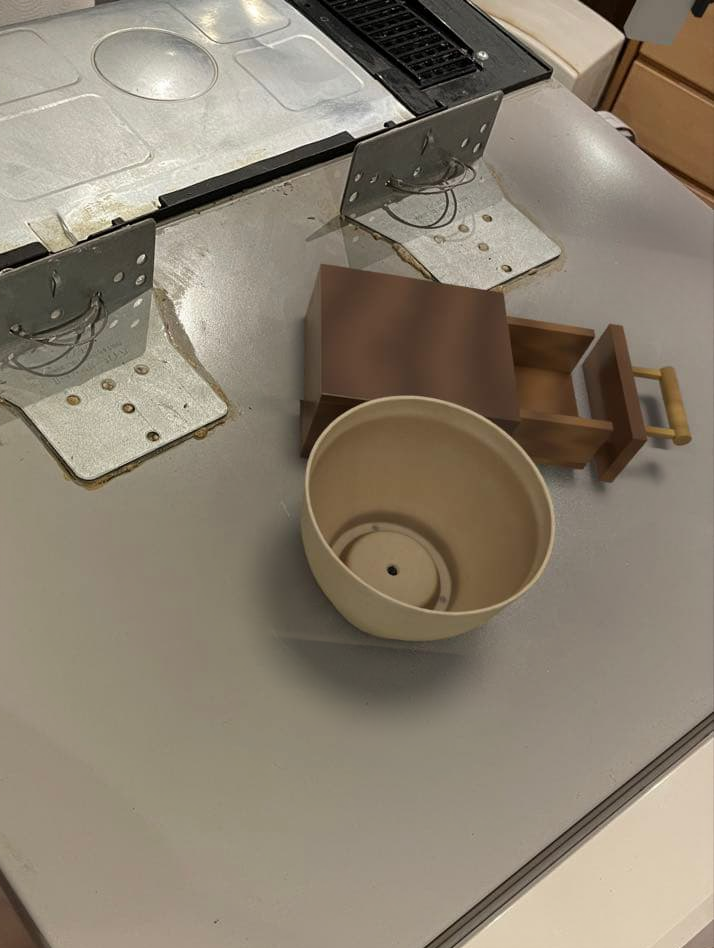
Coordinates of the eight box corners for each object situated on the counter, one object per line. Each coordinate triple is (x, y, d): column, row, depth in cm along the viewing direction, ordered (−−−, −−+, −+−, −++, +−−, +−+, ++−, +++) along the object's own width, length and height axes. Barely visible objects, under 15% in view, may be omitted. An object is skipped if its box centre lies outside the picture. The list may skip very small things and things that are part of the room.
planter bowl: (449, 473, 76) (502, 384, 67) (525, 663, 69) (595, 592, 60) (250, 497, 71) (277, 404, 62) (308, 705, 64) (349, 634, 55)
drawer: (646, 380, 85) (682, 334, 80) (671, 490, 79) (711, 448, 74) (439, 349, 82) (462, 300, 77) (449, 462, 76) (475, 416, 71)
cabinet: (470, 356, 83) (503, 292, 77) (483, 480, 77) (521, 421, 70) (300, 331, 81) (320, 262, 74) (299, 457, 74) (321, 394, 68)
